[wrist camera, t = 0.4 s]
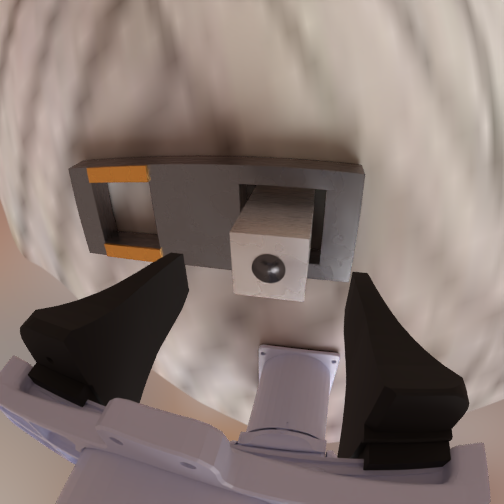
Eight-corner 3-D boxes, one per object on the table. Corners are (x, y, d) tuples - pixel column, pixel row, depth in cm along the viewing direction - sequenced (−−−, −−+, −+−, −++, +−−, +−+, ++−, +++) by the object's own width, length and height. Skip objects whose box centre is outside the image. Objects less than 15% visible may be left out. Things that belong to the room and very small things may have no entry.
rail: (347, 266, 24) (348, 283, 22) (101, 241, 28) (88, 253, 26) (361, 165, 20) (365, 175, 18) (83, 160, 24) (67, 169, 22)
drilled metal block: (311, 239, 23) (303, 302, 18) (258, 234, 24) (233, 294, 18) (315, 188, 21) (309, 239, 15) (257, 184, 22) (229, 232, 16)
